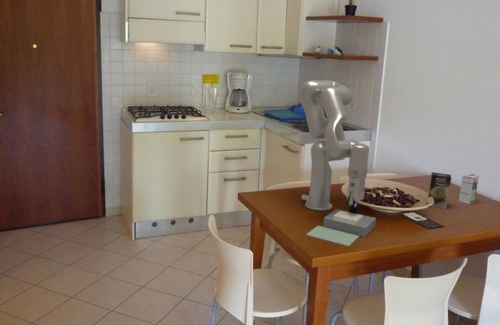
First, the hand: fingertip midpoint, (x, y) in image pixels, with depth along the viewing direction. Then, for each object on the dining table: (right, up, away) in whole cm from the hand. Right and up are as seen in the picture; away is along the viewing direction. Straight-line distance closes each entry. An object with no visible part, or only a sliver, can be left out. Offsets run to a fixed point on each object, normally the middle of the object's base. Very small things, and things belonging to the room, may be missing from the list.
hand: (353, 214), depth 207 cm
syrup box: (+67, +2, +41) cm, 79 cm away
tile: (-3, -2, -4) cm, 6 cm away
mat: (-11, -7, -12) cm, 17 cm away
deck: (-2, -5, -1) cm, 6 cm away
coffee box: (+48, +1, +33) cm, 58 cm away
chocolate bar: (+33, -5, +11) cm, 35 cm away
